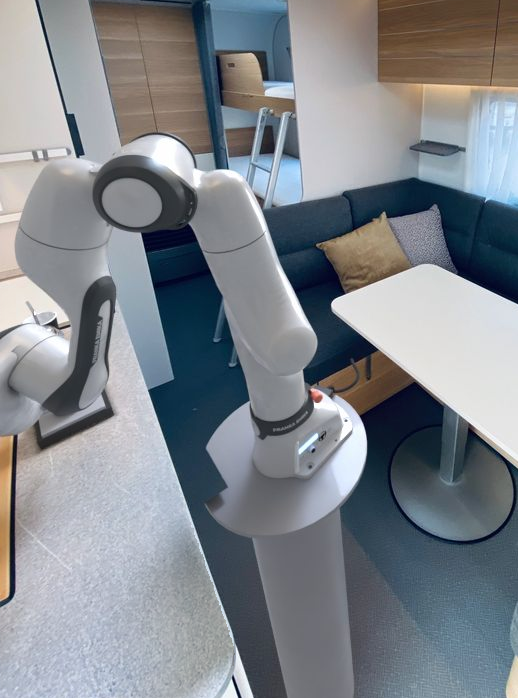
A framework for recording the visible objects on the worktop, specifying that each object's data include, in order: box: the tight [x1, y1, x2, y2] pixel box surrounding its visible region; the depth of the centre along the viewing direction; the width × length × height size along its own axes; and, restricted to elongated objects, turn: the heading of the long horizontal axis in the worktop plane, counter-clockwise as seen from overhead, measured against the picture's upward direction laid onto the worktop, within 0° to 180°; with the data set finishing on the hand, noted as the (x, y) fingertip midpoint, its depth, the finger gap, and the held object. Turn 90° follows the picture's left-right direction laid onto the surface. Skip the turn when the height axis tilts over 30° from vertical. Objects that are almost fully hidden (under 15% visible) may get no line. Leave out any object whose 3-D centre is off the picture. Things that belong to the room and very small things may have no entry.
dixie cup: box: [21, 310, 60, 330], centre depth 116 cm, size 8×8×11 cm
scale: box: [34, 388, 115, 451], centre depth 96 cm, size 14×12×3 cm
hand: (47, 409), depth 84 cm, fingers open, 8 cm apart
